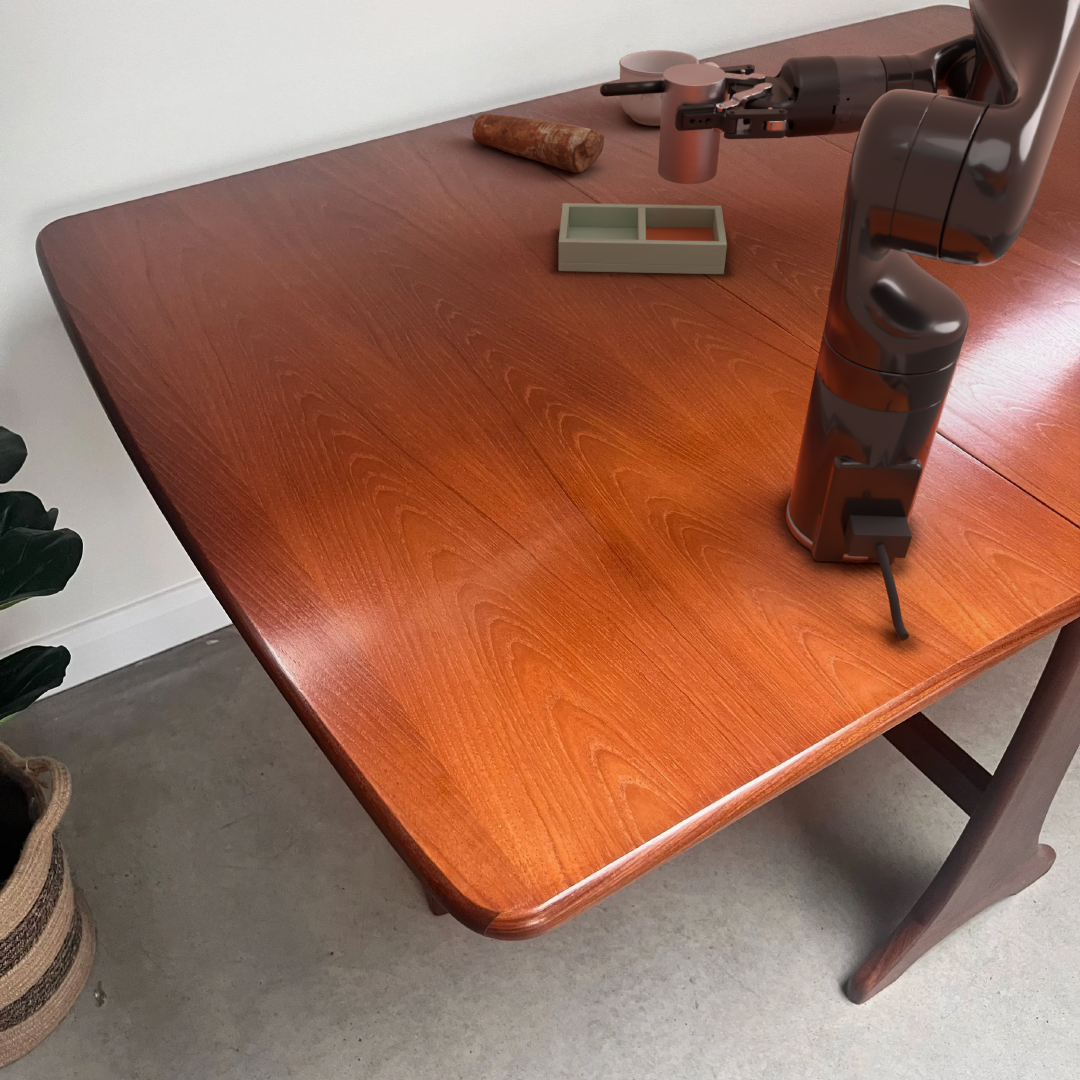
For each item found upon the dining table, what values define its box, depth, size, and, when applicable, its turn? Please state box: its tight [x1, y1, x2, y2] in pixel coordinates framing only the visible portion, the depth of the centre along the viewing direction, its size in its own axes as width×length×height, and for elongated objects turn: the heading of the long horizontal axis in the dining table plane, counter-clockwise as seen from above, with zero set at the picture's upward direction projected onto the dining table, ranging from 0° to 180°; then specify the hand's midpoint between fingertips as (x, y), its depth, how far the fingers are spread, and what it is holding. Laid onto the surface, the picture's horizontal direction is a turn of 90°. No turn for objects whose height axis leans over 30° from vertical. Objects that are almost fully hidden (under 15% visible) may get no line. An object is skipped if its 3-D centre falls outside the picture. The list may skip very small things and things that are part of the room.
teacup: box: [618, 49, 721, 127], centre depth 143 cm, size 14×11×8 cm
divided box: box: [557, 202, 728, 275], centre depth 116 cm, size 9×18×4 cm, turn 86°
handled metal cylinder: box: [599, 63, 726, 185], centre depth 107 cm, size 13×6×10 cm, turn 96°
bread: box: [471, 113, 605, 174], centre depth 135 cm, size 6×19×6 cm, turn 52°
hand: (669, 105), depth 105 cm, fingers closed on handled metal cylinder, 6 cm apart
